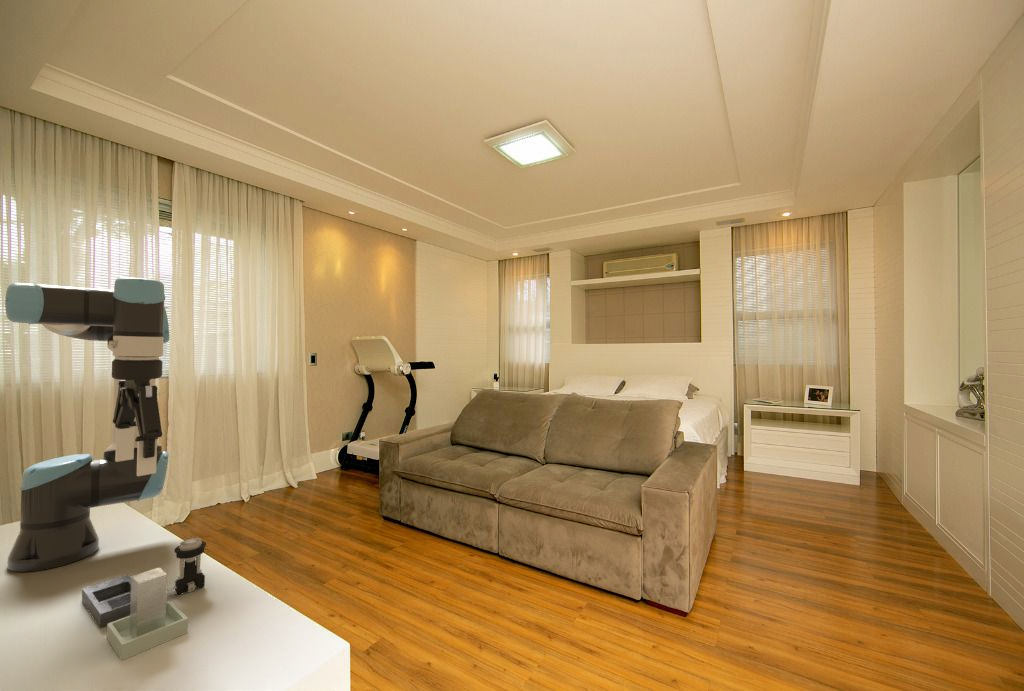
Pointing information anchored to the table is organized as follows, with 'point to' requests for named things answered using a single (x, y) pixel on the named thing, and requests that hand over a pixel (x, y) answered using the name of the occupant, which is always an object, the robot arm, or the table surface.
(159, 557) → the table surface
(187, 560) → the push button
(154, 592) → the block
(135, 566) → the table surface
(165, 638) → the parts tray
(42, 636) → the table surface
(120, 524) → the table surface
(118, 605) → the dark gray slotted holder
